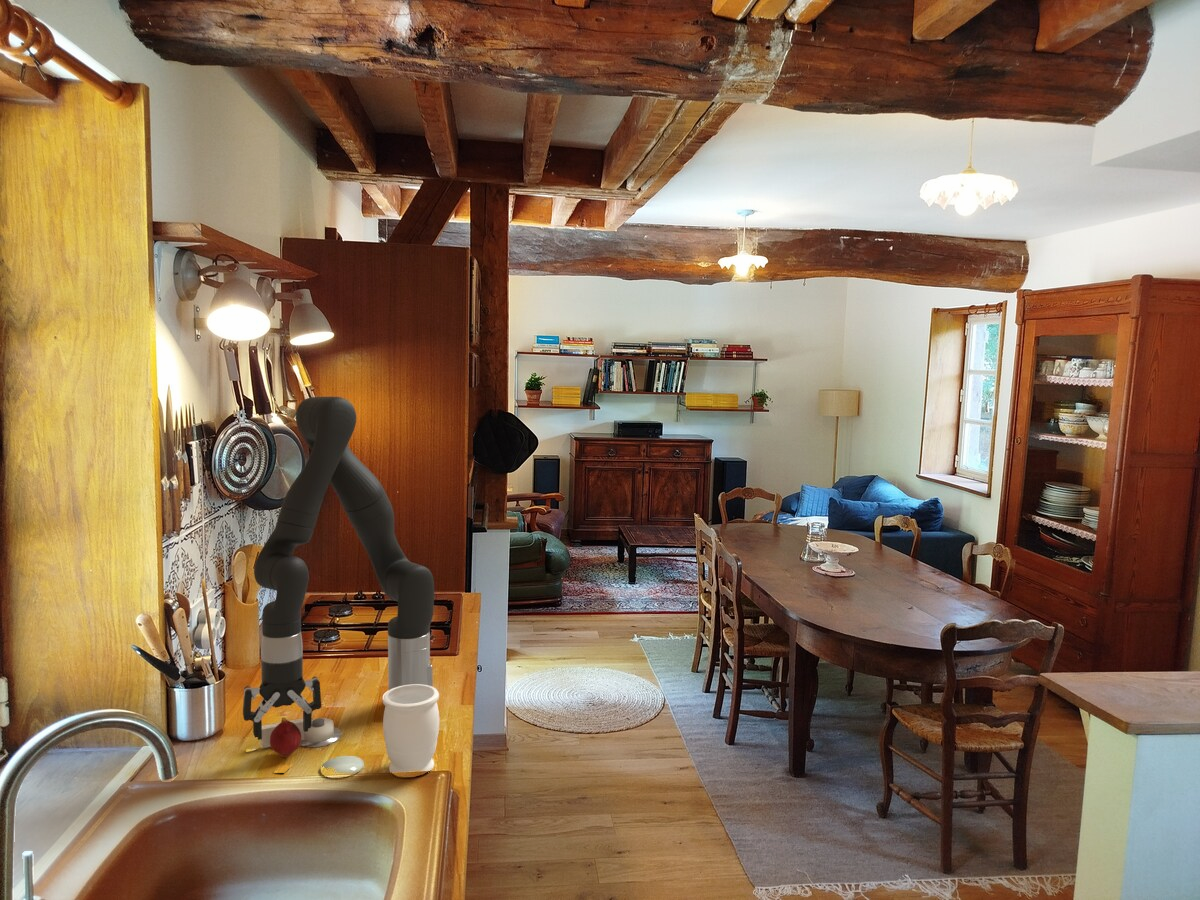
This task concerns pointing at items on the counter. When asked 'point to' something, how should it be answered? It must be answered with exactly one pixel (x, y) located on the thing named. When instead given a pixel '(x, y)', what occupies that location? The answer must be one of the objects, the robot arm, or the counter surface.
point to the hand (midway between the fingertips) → (282, 734)
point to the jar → (411, 727)
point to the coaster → (345, 764)
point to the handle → (317, 733)
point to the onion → (285, 738)
